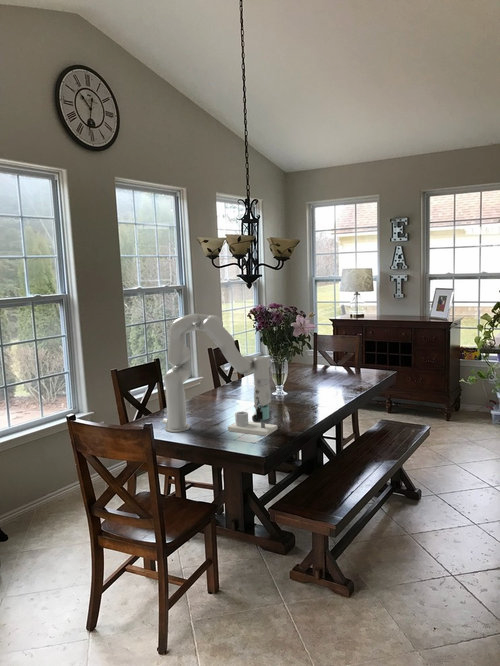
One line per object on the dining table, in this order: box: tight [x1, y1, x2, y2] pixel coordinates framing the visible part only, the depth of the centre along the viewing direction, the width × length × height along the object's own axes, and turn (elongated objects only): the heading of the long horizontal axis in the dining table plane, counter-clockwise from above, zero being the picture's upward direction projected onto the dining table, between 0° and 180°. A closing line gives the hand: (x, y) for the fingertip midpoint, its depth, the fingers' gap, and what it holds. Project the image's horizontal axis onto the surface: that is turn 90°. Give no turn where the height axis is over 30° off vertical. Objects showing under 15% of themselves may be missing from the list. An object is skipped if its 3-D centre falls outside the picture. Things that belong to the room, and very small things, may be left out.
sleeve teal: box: [256, 405, 270, 421], centre depth 269 cm, size 6×6×6 cm
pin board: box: [227, 419, 278, 437], centre depth 273 cm, size 22×12×7 cm, turn 62°
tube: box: [251, 410, 261, 423], centre depth 297 cm, size 5×5×25 cm
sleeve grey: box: [234, 411, 249, 427], centre depth 276 cm, size 6×6×6 cm
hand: (262, 416), depth 270 cm, fingers closed on sleeve teal, 6 cm apart
